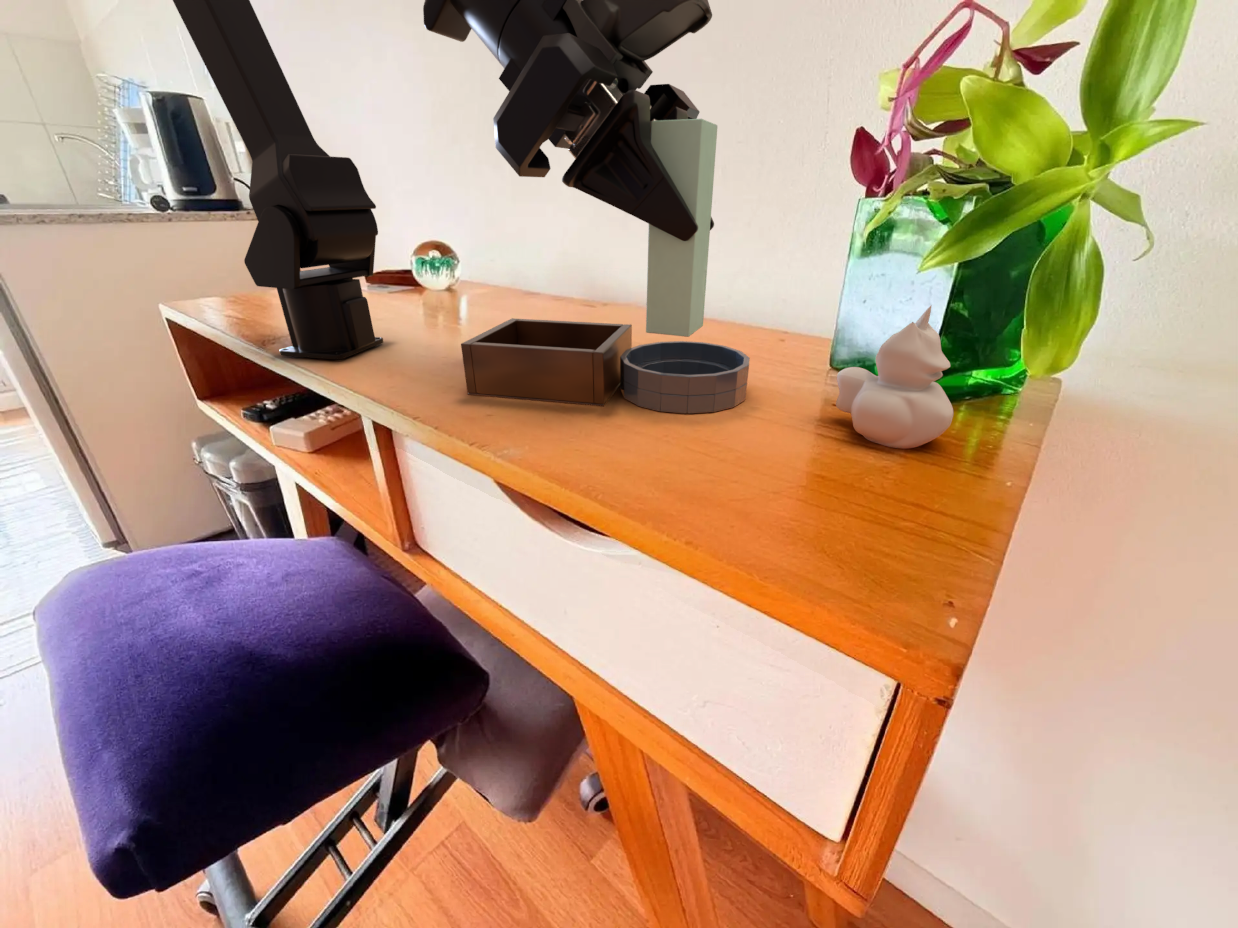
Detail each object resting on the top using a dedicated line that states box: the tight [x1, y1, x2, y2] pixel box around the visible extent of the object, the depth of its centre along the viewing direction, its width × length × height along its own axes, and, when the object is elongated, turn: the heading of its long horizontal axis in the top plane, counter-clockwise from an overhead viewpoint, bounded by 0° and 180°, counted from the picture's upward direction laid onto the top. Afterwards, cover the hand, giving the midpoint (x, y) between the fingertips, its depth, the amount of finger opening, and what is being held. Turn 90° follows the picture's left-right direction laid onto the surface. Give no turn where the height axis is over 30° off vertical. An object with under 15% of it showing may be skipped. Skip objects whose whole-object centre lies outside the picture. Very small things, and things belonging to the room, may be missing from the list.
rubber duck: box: [835, 305, 954, 450], centre depth 31 cm, size 5×7×8 cm
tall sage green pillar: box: [645, 118, 718, 338], centre depth 34 cm, size 3×4×12 cm
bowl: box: [619, 340, 751, 415], centre depth 38 cm, size 9×9×3 cm
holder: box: [460, 317, 633, 407], centre depth 40 cm, size 10×8×4 cm
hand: (700, 233), depth 34 cm, fingers closed on tall sage green pillar, 3 cm apart
